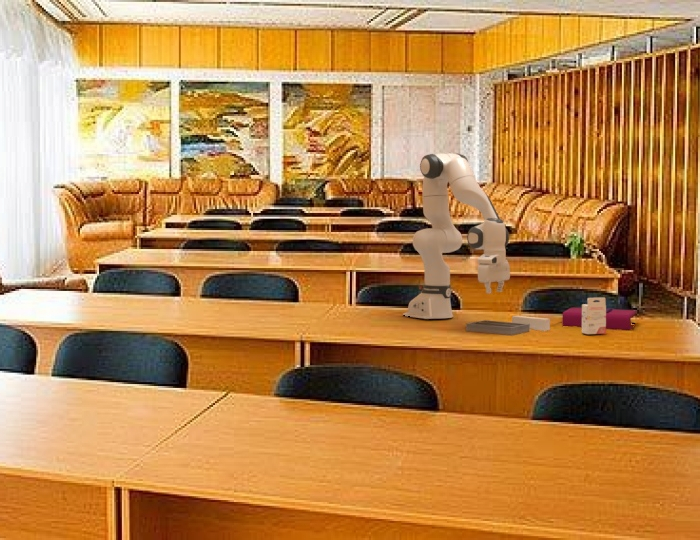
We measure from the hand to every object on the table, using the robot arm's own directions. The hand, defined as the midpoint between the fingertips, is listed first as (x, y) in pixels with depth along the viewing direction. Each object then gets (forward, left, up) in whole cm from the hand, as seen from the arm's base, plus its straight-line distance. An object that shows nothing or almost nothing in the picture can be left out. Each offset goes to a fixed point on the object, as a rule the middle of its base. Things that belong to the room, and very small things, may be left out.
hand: (494, 292), depth 430 cm
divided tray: (0, +4, -16) cm, 17 cm away
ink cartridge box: (+33, +23, -16) cm, 43 cm away
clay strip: (+7, +19, -16) cm, 26 cm away
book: (+26, +45, -17) cm, 55 cm away
